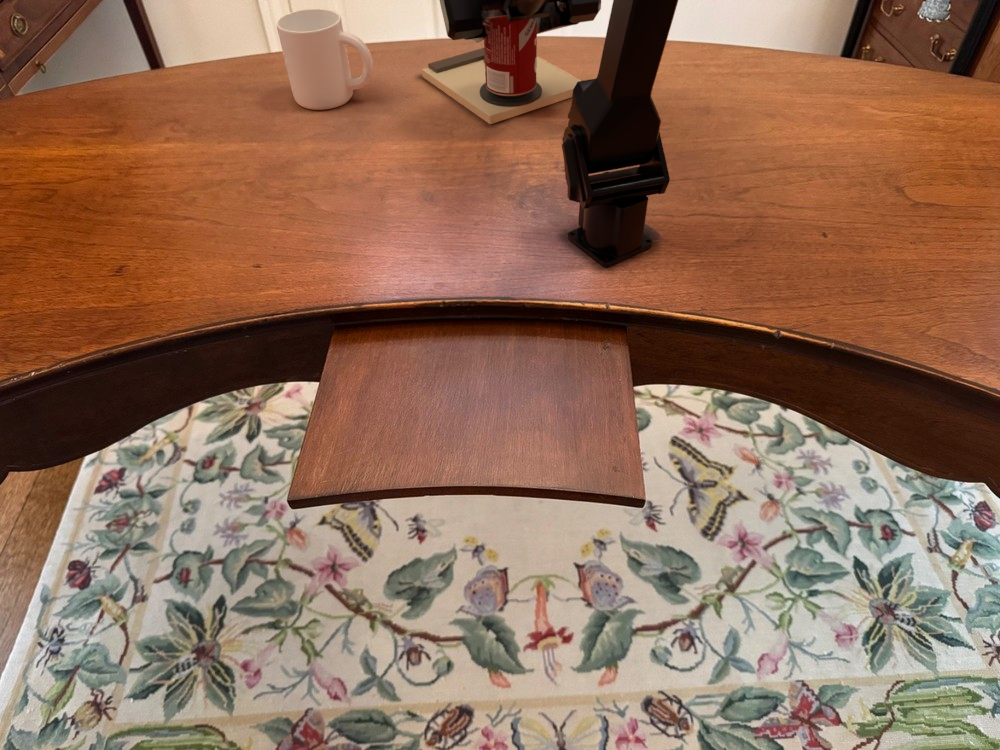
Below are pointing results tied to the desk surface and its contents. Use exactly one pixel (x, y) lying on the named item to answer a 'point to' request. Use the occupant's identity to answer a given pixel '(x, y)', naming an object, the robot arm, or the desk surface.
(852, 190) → the desk surface
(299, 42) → the mug
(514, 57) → the soda can
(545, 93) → the hob
